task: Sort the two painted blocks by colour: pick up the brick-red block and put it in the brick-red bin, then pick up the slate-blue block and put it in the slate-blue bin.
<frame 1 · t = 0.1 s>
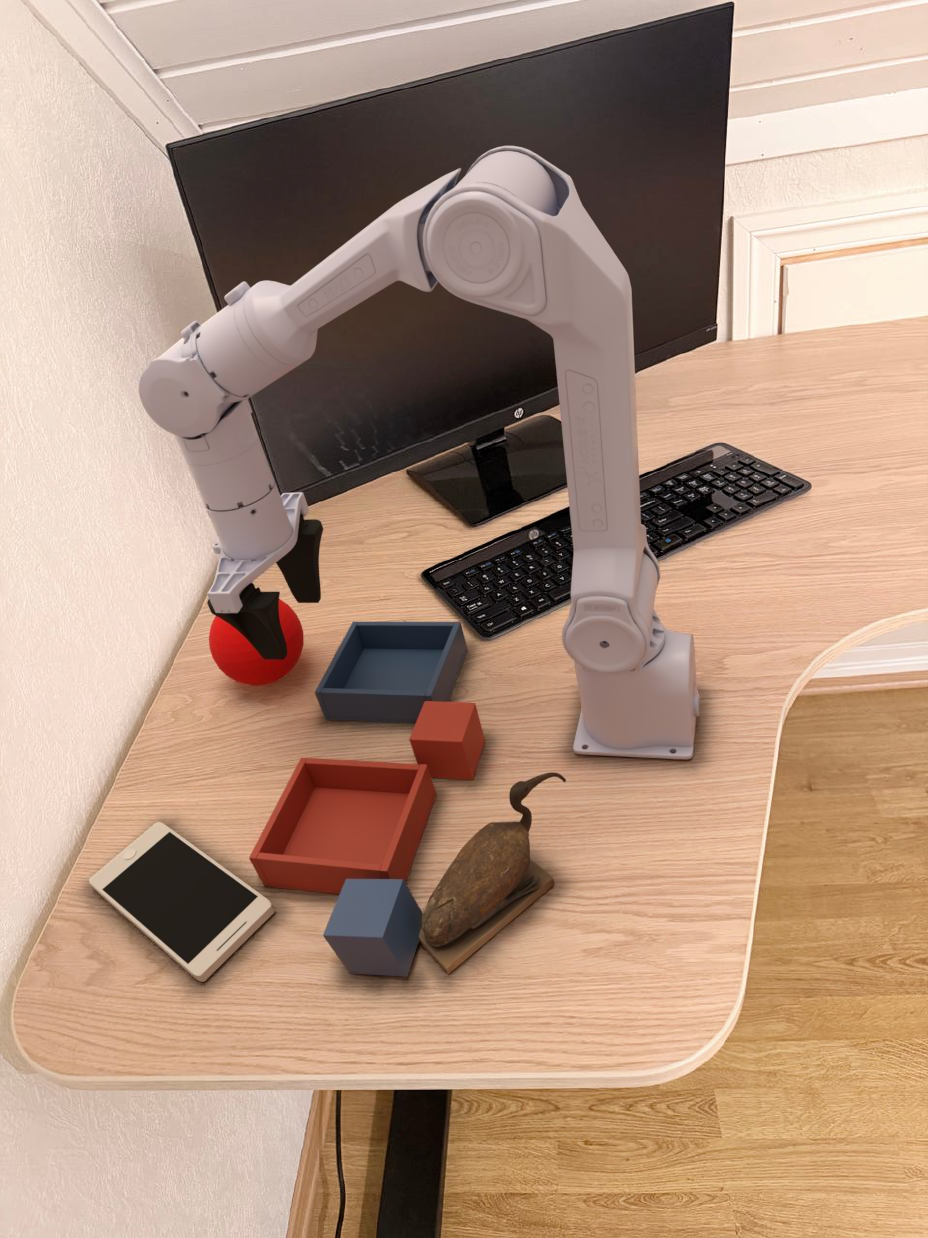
hand: (293, 627, 79), 10 cm above the table, tool pointing down, fingers open, 7 cm apart
smartphone: (181, 899, 71), on the table
blue bin: (398, 684, 86), on the table
blue block: (388, 945, 63), on the table, tilted 8°, touching figurine
red bin: (352, 839, 72), on the table
ornament: (272, 675, 91), on the table
figurine: (506, 893, 65), on the table, touching blue block
red block: (453, 758, 77), on the table
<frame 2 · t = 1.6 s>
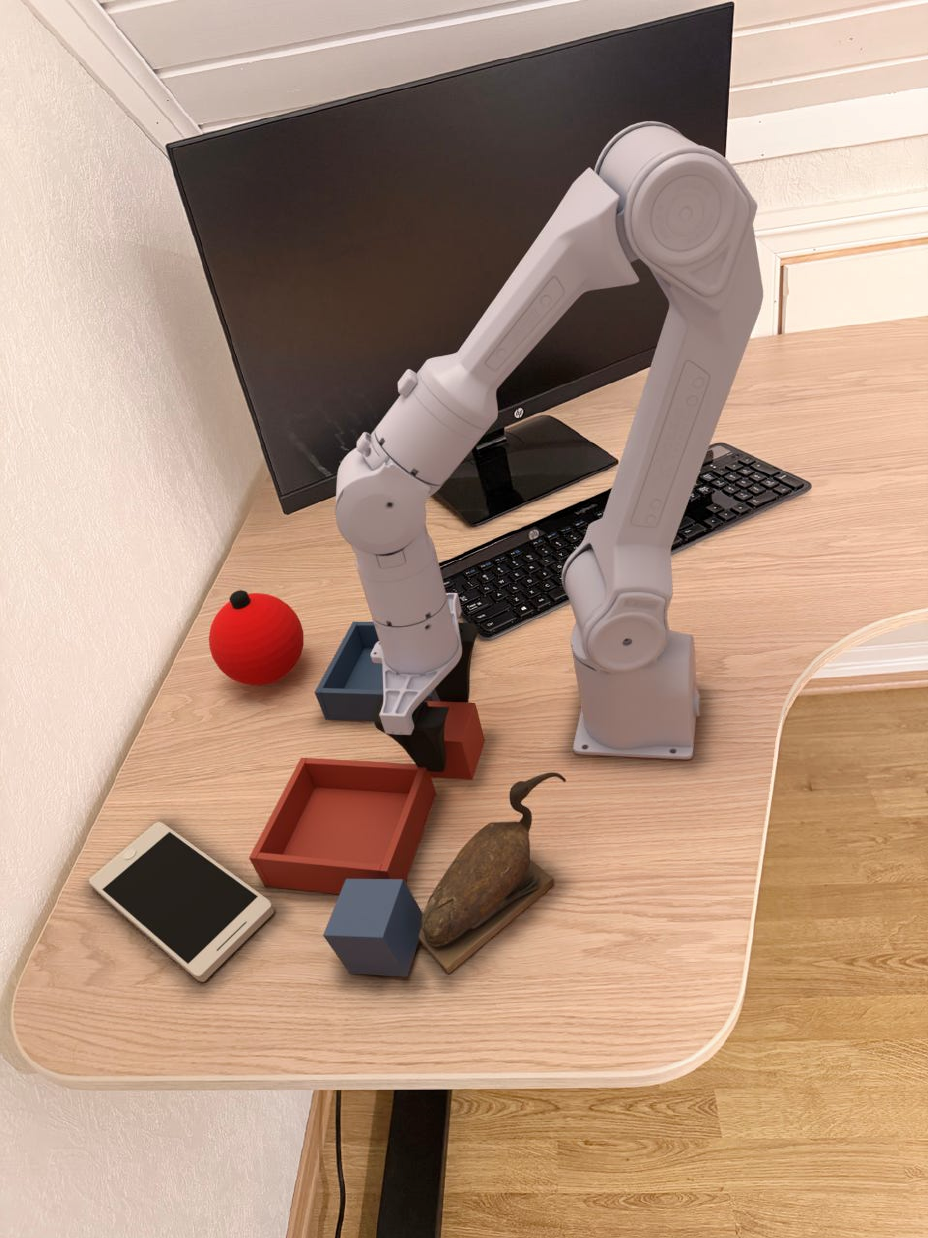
hand: (444, 735, 75), 3 cm above the table, tool pointing down, fingers open, 7 cm apart
nothing on the table moved.
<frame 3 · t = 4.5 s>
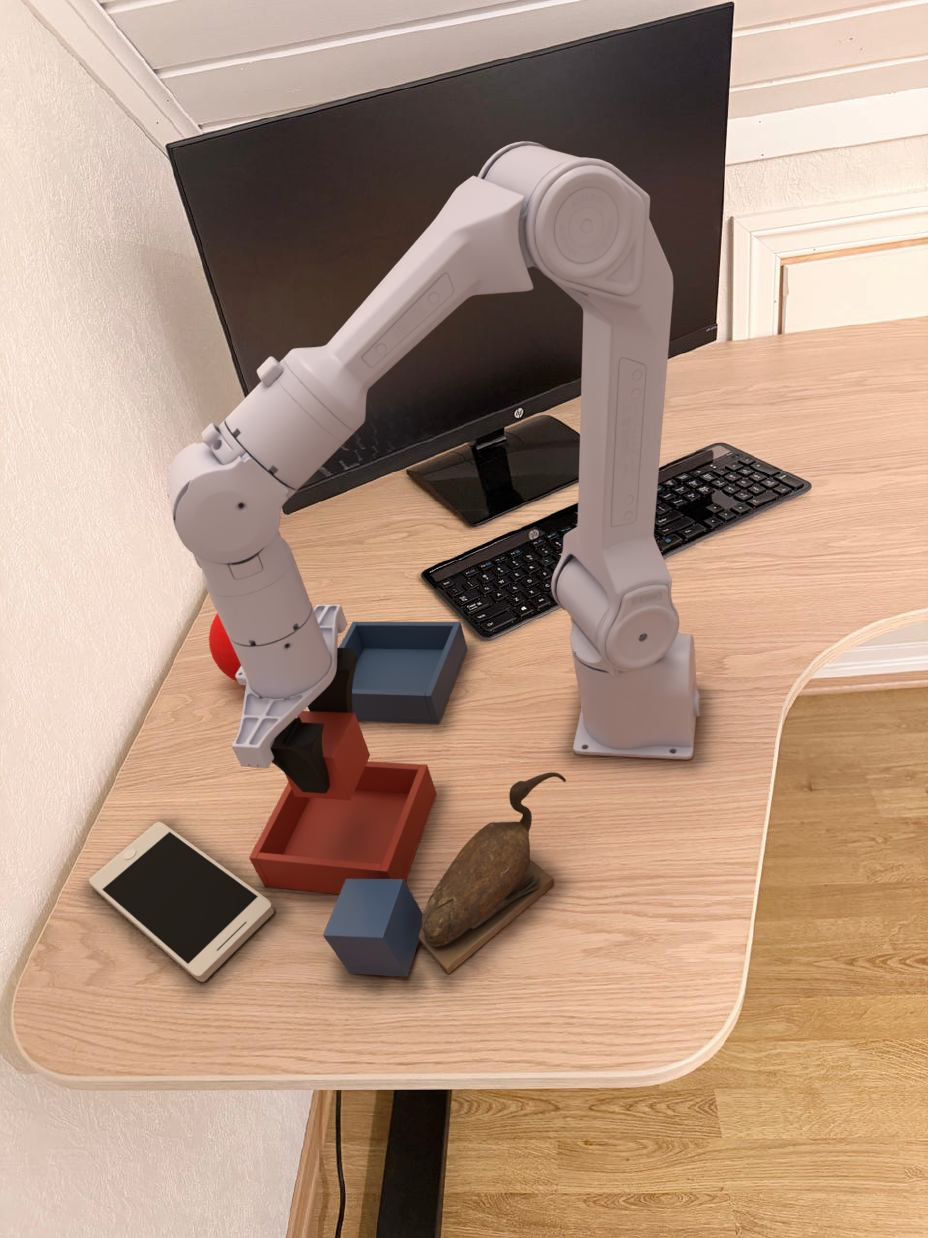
hand: (328, 762, 67), 8 cm above the table, tool pointing down, fingers closed on red block, 4 cm apart
red block: (333, 775, 68), point 7 cm above the table, touching gripper
everything else where it was.
when the fingers open (2 cm above the table, at t = 6.8 s): red block stays where it is, resting on red bin.
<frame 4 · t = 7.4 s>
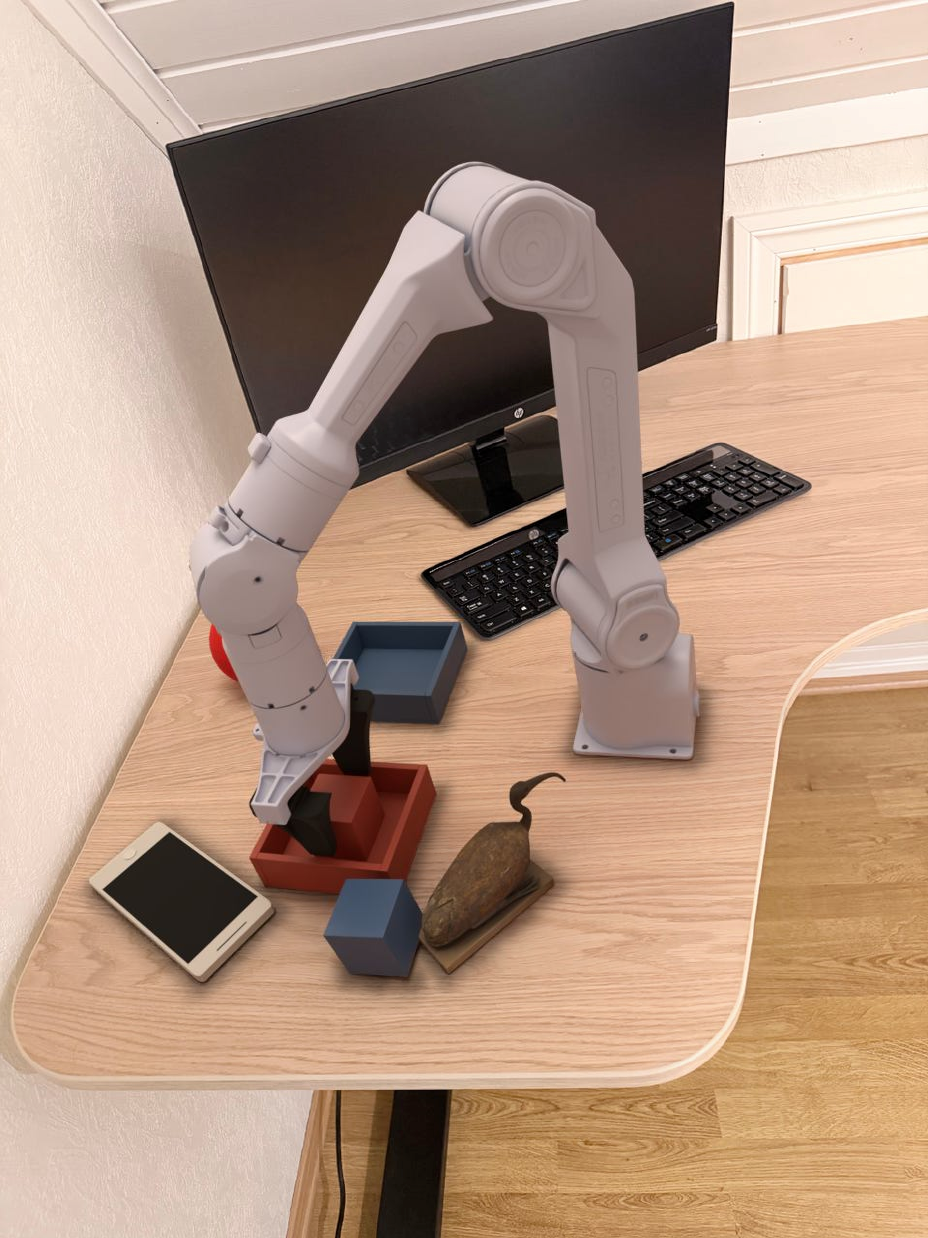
hand: (341, 811, 70), 3 cm above the table, tool pointing down, fingers open, 7 cm apart
red block: (350, 835, 72), resting on red bin
everything else where it was.
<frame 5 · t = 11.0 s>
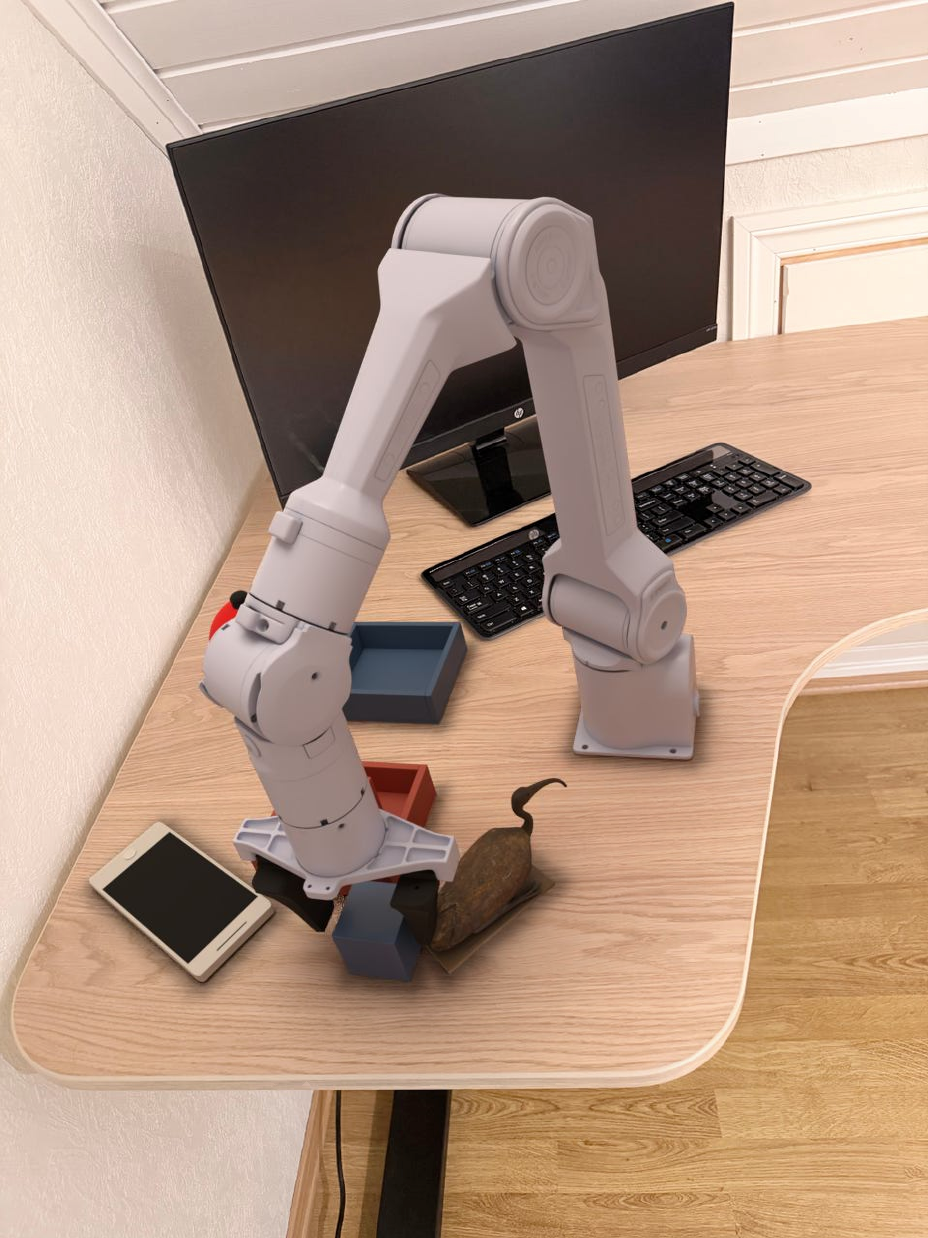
hand: (376, 926, 62), 3 cm above the table, tool pointing down, fingers open, 7 cm apart
blue block: (389, 948, 63), on the table
figurine: (508, 897, 66), on the table, touching gripper
everything else where it was.
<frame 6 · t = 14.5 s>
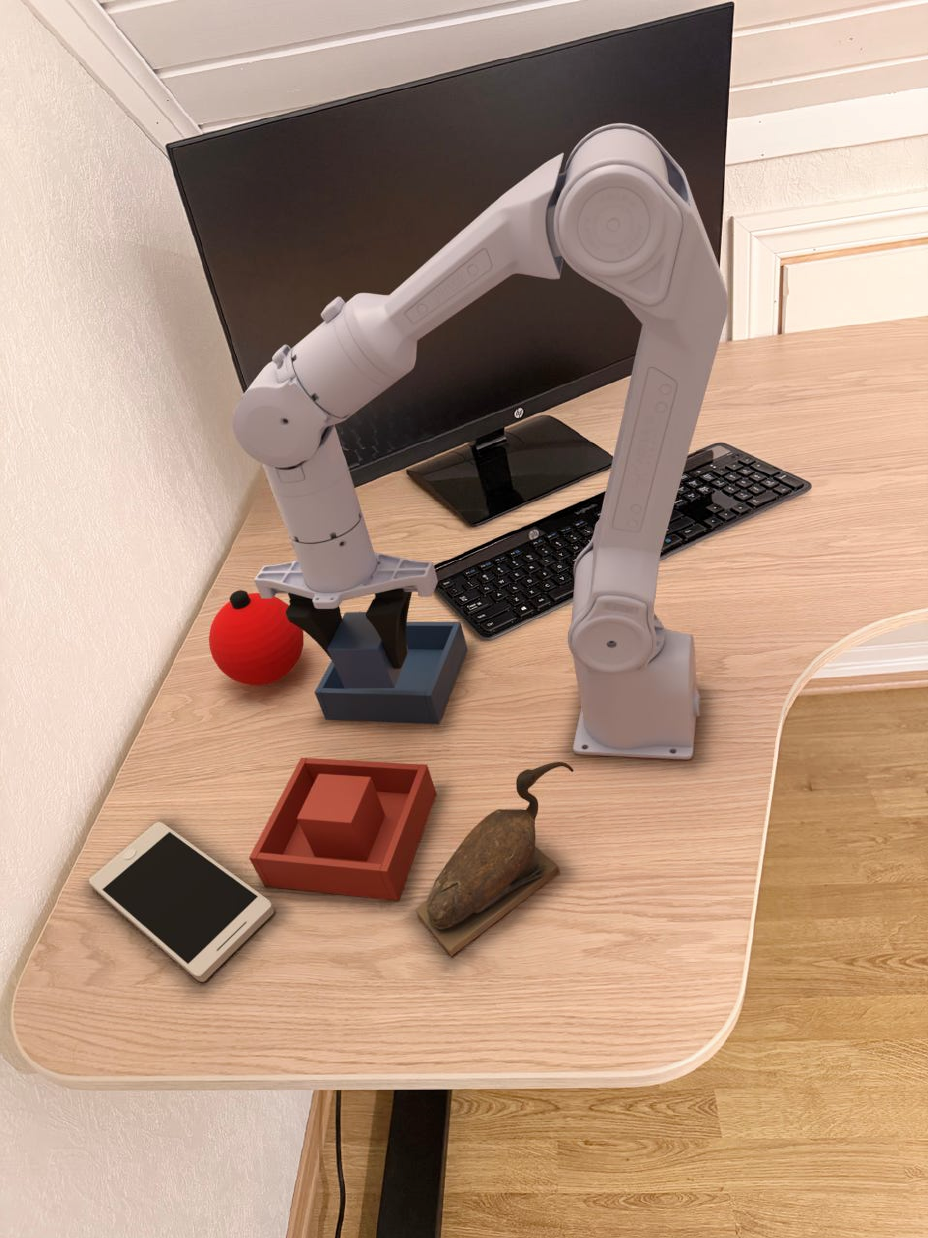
hand: (371, 660, 76), 8 cm above the table, tool pointing down, fingers closed on blue block, 4 cm apart
blue block: (377, 669, 77), point 7 cm above the table, touching gripper
figurine: (511, 879, 66), on the table
everything else where it was.
when the fingers open (2 cm above the table, at t = 17.3 s): blue block stays where it is, resting on blue bin.
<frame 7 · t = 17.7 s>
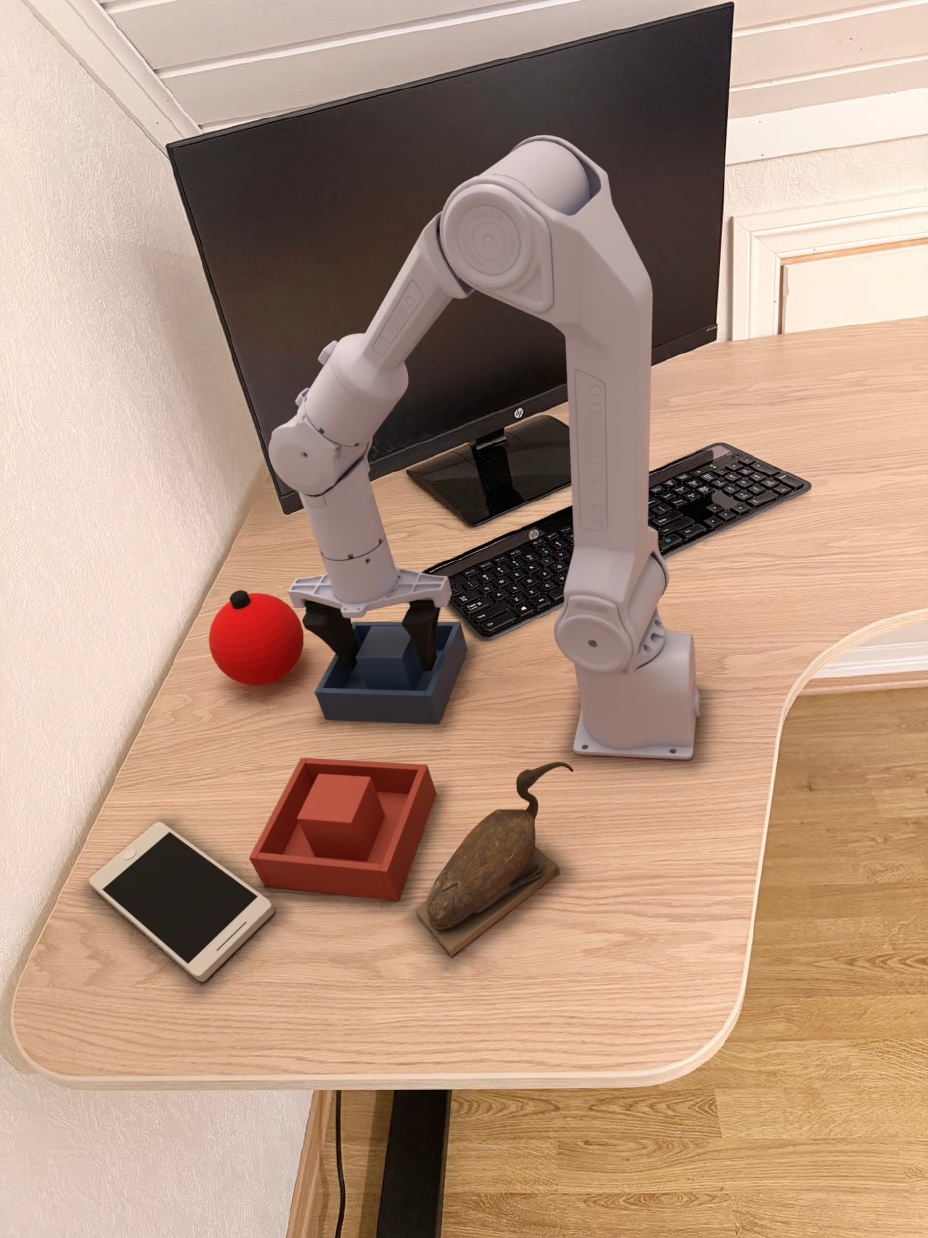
hand: (391, 663, 84), 3 cm above the table, tool pointing down, fingers open, 7 cm apart
blue block: (397, 678, 86), resting on blue bin
everything else where it was.
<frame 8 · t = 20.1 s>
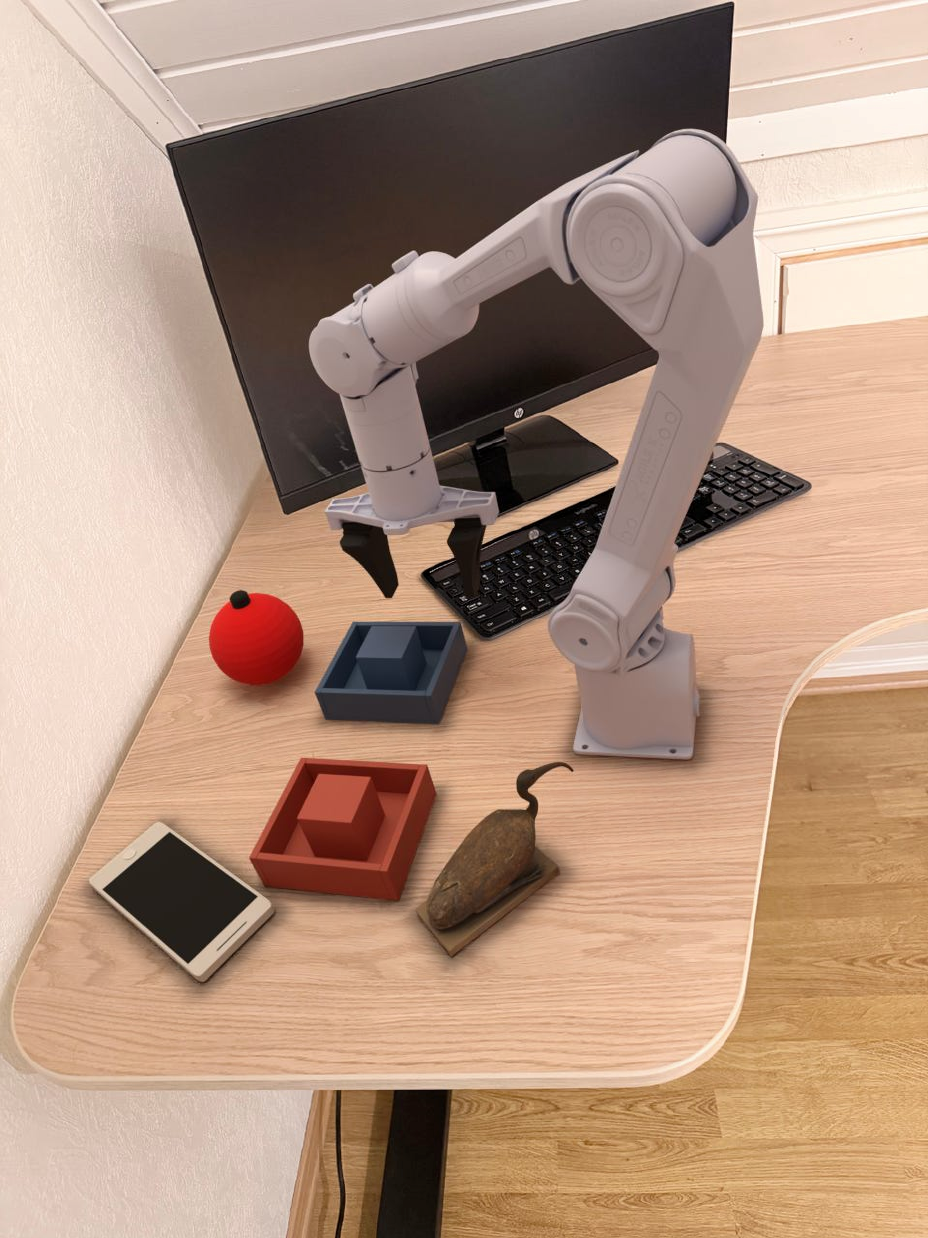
hand: (432, 591, 80), 9 cm above the table, tool pointing down, fingers open, 7 cm apart
nothing on the table moved.
at the end: red block inside the target area in the red bin (0.0 cm from its centre), point 0.5 cm above the red bin's base; blue block inside the target area in the blue bin (0.3 cm from its centre), point 0.5 cm above the blue bin's base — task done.
